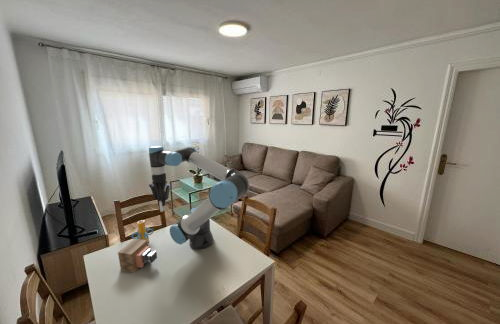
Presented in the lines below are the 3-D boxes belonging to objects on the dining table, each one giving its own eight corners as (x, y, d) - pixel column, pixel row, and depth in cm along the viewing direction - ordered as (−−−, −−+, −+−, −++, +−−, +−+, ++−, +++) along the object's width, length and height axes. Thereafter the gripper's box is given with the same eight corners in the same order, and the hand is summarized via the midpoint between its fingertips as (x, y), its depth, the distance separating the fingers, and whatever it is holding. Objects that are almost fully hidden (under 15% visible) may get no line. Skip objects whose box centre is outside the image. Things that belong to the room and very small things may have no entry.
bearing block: (149, 256, 118) (147, 240, 115) (134, 272, 106) (131, 254, 103) (137, 254, 119) (134, 238, 116) (120, 270, 108) (117, 252, 105)
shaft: (157, 257, 112) (156, 249, 111) (151, 264, 107) (150, 256, 106) (129, 253, 115) (128, 245, 114) (122, 259, 110) (120, 251, 109)
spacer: (151, 257, 115) (149, 246, 113) (141, 267, 107) (140, 255, 105) (146, 257, 115) (144, 245, 113) (136, 266, 108) (134, 254, 106)
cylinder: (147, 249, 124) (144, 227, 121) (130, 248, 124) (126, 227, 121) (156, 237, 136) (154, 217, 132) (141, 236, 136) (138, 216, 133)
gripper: (172, 171, 118) (175, 208, 124) (152, 170, 120) (156, 206, 126) (165, 175, 111) (169, 214, 117) (144, 174, 113) (148, 212, 119)
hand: (162, 210), depth 121 cm, fingers closed
